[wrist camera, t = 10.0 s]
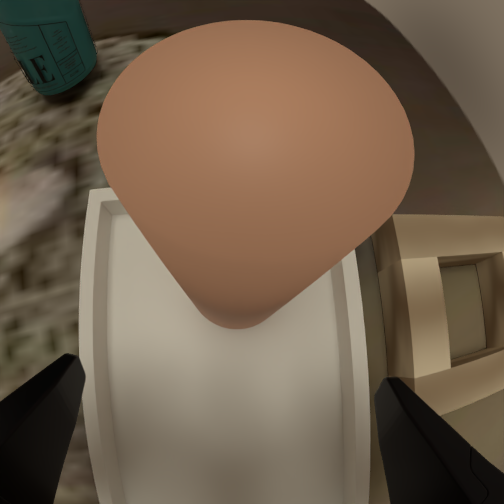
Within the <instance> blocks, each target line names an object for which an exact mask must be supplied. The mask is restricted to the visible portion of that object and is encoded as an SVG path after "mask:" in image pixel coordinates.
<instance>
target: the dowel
mask: <svg viewBox="0 0 504 504" xmlns="http://www.w3.org/2000/svg"><path fill="white" fill-rule="evenodd" d="M97 150H98V154H99V159H100V163H101V167H102V170H103V172H104V174H105V176H106V179H107V181H108V183H109V185H110V187H111V188H112V190H113V191H114V193H115V194H116V196H117V197H118V199H119V200H120V202H121V203H122V205H123V206H124V208H125V209H126V211H127V212H128V214H129V215H130V217H131V218H132V220H133V221H134V223H135V224H136V226H137V227H138V228H139V230H140V231H141V233H142V234H143V236H144V237H145V239H146V240H147V241H148V243H149V244H150V246H151V247H152V248H153V250H154V251H155V253H156V254H157V255H158V257H159V258H160V260H161V261H162V262H163V264H164V265H165V266H166V268H167V269H168V270H169V272H170V273H171V275H172V276H173V277H174V279H175V280H176V281H177V283H178V284H179V285H180V287H181V288H182V289H183V291H184V292H185V293H186V295H187V296H188V297H189V298H190V300H191V301H192V302H193V304H194V305H195V306H196V307H197V309H198V310H199V311H200V313H201V314H202V315H203V316H204V317H205V318H207V319H208V320H209V321H211V322H212V323H214V324H216V325H218V326H221V327H224V328H228V329H245V328H250V327H253V326H255V325H258V324H260V323H261V322H263V321H264V320H266V319H267V318H269V317H270V316H271V315H272V314H274V313H275V312H276V311H278V310H279V309H280V308H282V307H283V306H284V305H285V304H287V303H288V302H289V301H291V300H292V299H293V298H294V297H296V296H297V295H298V294H300V293H301V292H302V291H303V290H305V289H306V288H307V287H308V286H310V285H311V284H312V283H313V282H315V281H316V280H317V279H318V278H320V277H321V276H322V275H323V274H325V273H326V272H327V271H328V270H330V269H331V268H332V267H333V266H334V265H336V264H337V263H338V262H339V261H341V260H342V259H343V258H344V257H345V256H347V255H348V254H349V253H350V252H351V251H353V250H354V249H355V248H356V247H357V246H359V245H360V244H361V243H362V242H363V241H364V240H366V239H367V238H368V237H369V236H370V235H371V234H373V233H374V232H375V231H376V230H377V229H378V228H379V227H380V226H381V225H382V224H383V223H384V222H385V221H386V220H387V219H388V218H390V217H391V216H392V214H393V213H394V211H395V210H396V209H397V207H398V206H399V204H400V203H401V201H402V200H403V197H404V195H405V193H406V191H407V189H408V187H409V184H410V180H411V176H412V172H413V166H414V143H413V136H412V132H411V128H410V124H409V121H408V118H407V116H406V113H405V111H404V109H403V107H402V105H401V103H400V101H399V100H398V98H397V96H396V95H395V93H394V92H393V90H392V89H391V88H390V86H389V85H388V83H387V82H386V81H385V80H384V79H383V78H382V77H381V76H380V75H379V73H378V72H377V71H376V70H374V69H373V68H372V67H371V66H370V65H369V64H368V63H367V62H366V61H364V60H363V59H362V58H360V57H359V56H358V55H356V54H355V53H354V52H352V51H351V50H349V49H347V48H346V47H344V46H342V45H341V44H339V43H337V42H335V41H333V40H331V39H329V38H327V37H325V36H322V35H320V34H317V33H315V32H312V31H309V30H306V29H303V28H299V27H296V26H292V25H287V24H282V23H277V22H269V21H257V20H236V21H224V22H217V23H211V24H206V25H202V26H197V27H194V28H191V29H188V30H185V31H182V32H180V33H177V34H175V35H172V36H170V37H168V38H166V39H164V40H162V41H160V42H159V43H157V44H155V45H153V46H152V47H150V48H149V49H148V50H146V51H145V52H143V53H142V54H141V55H139V56H138V57H137V58H136V59H135V60H134V61H132V62H131V63H130V64H129V65H128V66H127V67H126V69H125V70H124V71H123V72H122V73H121V74H120V75H119V77H118V78H117V79H116V81H115V82H114V84H113V85H112V87H111V88H110V90H109V92H108V94H107V96H106V98H105V100H104V103H103V106H102V109H101V112H100V115H99V120H98V127H97Z"/></svg>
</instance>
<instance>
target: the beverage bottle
mask: <svg viewBox="0 0 504 504" xmlns="http://www.w3.org/2000/svg"><path fill="white" fill-rule="evenodd" d="M79 1H80V0H79ZM79 1H78V0H0V29H1V31H2V33H3V35H4V36H5V38H6V40H7V42H6V43H8V44H9V46H10V47H11V49H12V51H13V52H11V53H14V55H15V56H16V58H17V60H18V62H19V63H20V65H21V67H22V68H23V70H24V72H25V74H26V76H27V77H28V79H27V77H26V76H25V74H24V73H23V74H24V76H25V77H26V79H27V81H28V82H29V80H30V82H29V83H30V84H32V85H33V86H32V87H34V88H35V91H38V92H39V93H41V94H43V95H54V94H58V93H60V92H63V91H65V90H67V89H69V88H71V87H73V86H74V85H76V84H77V83H79V82H80V81H81V80H83V79H84V78H85V77H86V76H87V75H88V74H89V73H90V72H91V70H92V69H93V67H94V66H95V64H96V58H97V57H96V54H97V53H96V49H95V47H94V45H95V44H93V42H94V43H95V41H94V40H93V38H91V36H93V35H91V36H90V32H89V30H88V28H89V27H87V25H88V24H86V22H88V21H86V22H85V19H87V18H85V19H84V16H86V15H84V16H83V13H84V12H83V13H82V10H83V9H82V10H81V8H82V7H83V6H81V7H80V4H82V3H80V4H79ZM88 26H89V25H88ZM92 40H93V41H92ZM95 46H96V45H95ZM14 59H15V58H14ZM17 64H18V63H17ZM18 66H19V65H18ZM20 69H21V68H20ZM21 71H22V70H21ZM22 72H23V71H22ZM32 89H33V88H32ZM33 90H34V89H33Z"/></svg>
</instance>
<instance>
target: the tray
mask: <svg viewBox="0 0 504 504" xmlns="http://www.w3.org/2000/svg"><path fill="white" fill-rule="evenodd" d="M79 356H80V361H81V363H82V366H83V368H84V371H85V374H86V381H85V385H84V389H83V394H82V402H83V412H84V420H85V428H86V435H87V442H88V449H89V455H90V460H91V466H92V471H93V476H94V481H95V485H96V490H97V494H98V498H99V502H100V504H369V487H370V400H369V379H368V363H367V350H366V338H365V327H364V317H363V308H362V299H361V291H360V283H359V276H358V269H357V262H356V255H355V249H354V250H353V251H351V252H350V253H349V254H348V255H347V256H345V257H344V258H343V259H342V260H341V261H339V262H338V263H337V264H336V265H334V266H333V267H332V268H331V269H330V270H328V271H327V272H326V273H325V274H323V275H322V276H321V277H320V278H318V279H317V280H316V281H315V282H313V283H312V284H311V285H310V286H308V287H307V288H306V289H305V290H303V291H302V292H301V293H300V294H298V295H297V296H296V297H294V298H293V299H292V300H291V301H289V302H288V303H287V304H285V305H284V306H283V307H282V308H280V309H279V310H278V311H276V312H275V313H274V314H272V315H271V316H270V317H269V318H267V319H266V320H264V321H263V322H261V323H260V324H258V325H255V326H253V327H250V328H245V329H228V328H224V327H221V326H218V325H216V324H214V323H212V322H211V321H209V320H208V319H207V318H205V317H204V316H203V315H202V314H201V313H200V311H199V310H198V309H197V307H196V306H195V305H194V304H193V302H192V301H191V300H190V298H189V297H188V296H187V295H186V293H185V292H184V291H183V289H182V288H181V287H180V285H179V284H178V283H177V281H176V280H175V279H174V277H173V276H172V275H171V273H170V272H169V270H168V269H167V268H166V266H165V265H164V264H163V262H162V261H161V260H160V258H159V257H158V255H157V254H156V253H155V251H154V250H153V248H152V247H151V246H150V244H149V243H148V241H147V240H146V239H145V237H144V236H143V234H142V233H141V231H140V230H139V228H138V227H137V226H136V224H135V223H134V221H133V220H132V218H131V217H130V215H129V214H128V212H127V211H126V209H125V208H124V206H123V205H122V203H121V202H120V200H119V199H118V197H117V196H116V194H115V193H114V191H113V190H112V188H102V189H93V190H90V194H89V200H88V207H87V214H86V222H85V230H84V239H83V249H82V261H81V276H80V296H79Z"/></svg>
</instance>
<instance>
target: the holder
mask: <svg viewBox="0 0 504 504" xmlns="http://www.w3.org/2000/svg"><path fill="white" fill-rule="evenodd" d="M371 236H372V242H373V248H374V254H375V260H376V266H377V273H378V279H379V286H380V294H381V302H382V310H383V319H384V329H385V339H386V351H387V365H388V377H393V376H396V377H398V378H400V379H401V380H402V381H403V382H404V383H405V384H406V385H407V386H408V387H409V388H410V389H412V390H413V391H414V392H415V393H416V394H417V395H418V396H419V397H420V398H421V399H422V400H423V401H424V402H425V403H427V404H428V405H429V406H430V407H431V408H432V409H433V410H434V411H435V412H436V413H437V414H438V415H439V416H440V415H443V414H446V413H448V412H451V411H454V410H456V409H459V408H461V407H464V406H466V405H469V404H471V403H473V402H476V401H478V400H480V399H482V398H485V397H487V396H489V395H491V394H493V393H495V392H498V391H500V390H502V389H504V217H498V216H466V215H396V214H392V216H391V217H390V218H388V219H387V220H386V221H385V222H384V223H383V224H382V225H381V226H380V227H379V228H378V229H377V230H376V231H375V232H374V233H373V234H371ZM471 264H476V268H477V273H478V278H479V284H480V291H481V297H482V304H483V312H484V321H485V330H486V342H487V348H486V349H483V350H480V351H477V352H474V353H471V354H468V355H465V356H462V357H458V358H455V359H452V360H450V348H449V336H448V326H447V317H446V309H445V301H444V294H443V288H442V281H441V275H440V270H439V268H440V267H451V266H461V265H471Z"/></svg>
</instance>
